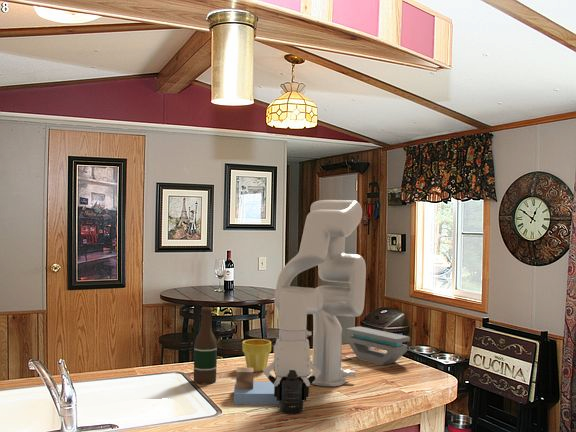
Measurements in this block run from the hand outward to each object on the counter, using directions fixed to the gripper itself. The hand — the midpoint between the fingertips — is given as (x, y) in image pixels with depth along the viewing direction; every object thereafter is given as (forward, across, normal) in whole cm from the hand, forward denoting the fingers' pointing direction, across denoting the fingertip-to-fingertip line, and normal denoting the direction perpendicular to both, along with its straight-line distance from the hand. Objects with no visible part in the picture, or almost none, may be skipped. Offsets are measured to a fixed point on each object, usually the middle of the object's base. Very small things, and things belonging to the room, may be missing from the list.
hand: (291, 398), depth 155 cm
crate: (0, +13, -13) cm, 18 cm away
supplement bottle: (+4, 0, 0) cm, 4 cm away
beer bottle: (+4, +26, -29) cm, 39 cm away
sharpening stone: (+3, -38, -57) cm, 68 cm away
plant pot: (+3, +9, -44) cm, 45 cm away
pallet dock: (+3, +8, -12) cm, 14 cm away
